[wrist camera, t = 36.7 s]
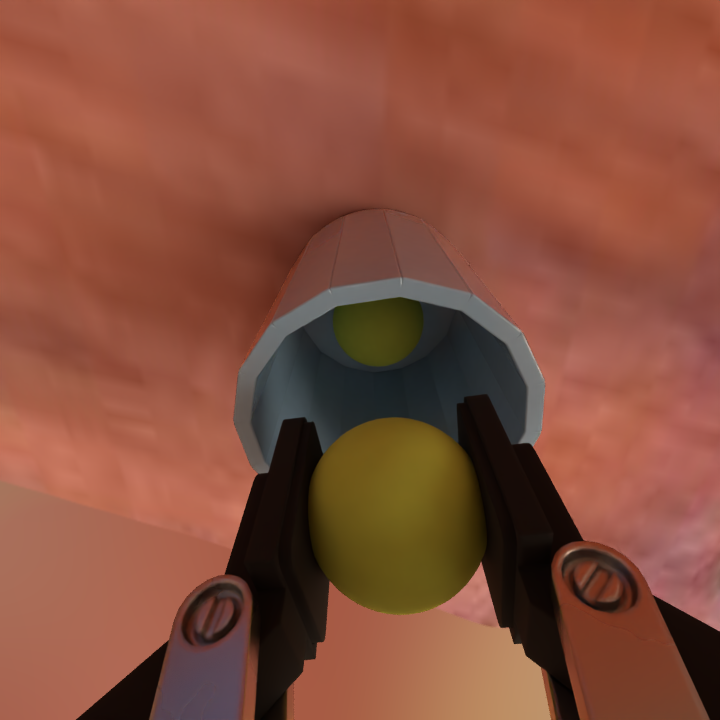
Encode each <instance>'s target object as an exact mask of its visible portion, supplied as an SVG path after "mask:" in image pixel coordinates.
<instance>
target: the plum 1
mask: <svg viewBox="0 0 720 720" xmlns="http://www.w3.org/2000/svg"><path fill="white" fill-rule="evenodd" d="M423 325H424V318H423V310H422V307H421V304H420V302H419V301H416V300H411V299H407V298H403V297H396V298H389V299H383V300H376V301H369V302H362V303H356V304H349V305H342V306H337V307H335V309H334V314H333V329H334V333H335V337H336V339H337V341H338V343H339V345H340V346H341V348H342V349H343V350H344V352H345V353H346V354H347V355H348V356H350V357H351V358H352V359H354V360H356V361H357V362H359V363H362V364H365V365H368V366H376V367H380V366H388V365H391V364H394V363H397V362H399V361H401V360H402V359H404V358H405V357H407V356H408V355H409V354H410V353H411V352H412V351H413V349H414V348H415V347H416V345H417V344H418V342H419V340H420V337H421V335H422V331H423Z"/></svg>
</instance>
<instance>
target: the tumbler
mask: <svg viewBox="0 0 720 720" xmlns="http://www.w3.org/2000/svg"><path fill="white" fill-rule="evenodd" d="M396 297H403V298H407V299H411V300H416V301H419V302H420V304H421V307H422V310H423V318H424V325H423V331H422V335H421V337H420V340H419V342H418V344H417V345H416V347H415V348H414V349H413V351H412V352H411V353H410V354H409V355H408V356H407V357H405V358H404V359H402V360H401V361H399V362H397V363H394V364H391V365H388V366H380V367H376V366H368V365H365V364H362V363H359V362H357V361H356V360H354V359H352V358H351V357H350V356H348V355H347V354H346V353H345V352H344V350H343V349H342V348H341V346H340V345H339V343H338V341H337V339H336V337H335V333H334V329H333V314H334V309H335V307H337V306H342V305H349V304H356V303H362V302H369V301H376V300H383V299H389V298H396ZM482 394H487V395H488V396H489V398H490V400H491V402H492V404H493V406H494V409H495V411H496V413H497V415H498V417H499V419H500V421H501V423H502V425H503V428H504V430H505V432H506V434H507V436H508V438H509V440H510V442H511V444H521V443H530V444H531V445H532V447H533V446H534V444H535V442H536V441H537V439H538V437H539V436H540V434H541V431H542V419H543V407H544V394H545V379H544V377H543V375H542V372H541V370H540V368H539V366H538V364H537V362H536V359H535V357H534V355H533V353H532V351H531V349H530V346H529V344H528V342H527V340H526V338H525V335H524V333H523V332H522V331H521V330H520V328H519V327H518V326H517V325H516V323H515V322H514V321H513V320H512V318H511V317H510V316H509V315H508V313H507V312H506V311H505V310H504V308H503V307H502V306H501V305H500V303H499V302H498V301H497V300H496V298H495V297H494V296H493V295H492V293H491V292H490V291H489V290H488V288H487V287H486V286H485V285H484V283H483V282H482V281H481V280H480V278H479V277H478V276H477V275H476V273H475V272H474V271H473V270H472V268H471V267H470V266H469V265H468V263H467V262H466V261H465V260H464V258H463V257H462V256H461V255H460V253H459V252H458V251H457V250H456V248H455V247H454V246H453V245H452V243H451V242H450V241H449V240H448V239H446V238H445V237H444V236H443V235H441V234H440V233H439V232H438V231H437V230H436V229H435V228H434V227H432V226H431V225H429V224H428V223H427V222H425V221H424V220H422V219H420V218H417V217H415V216H413V215H410V214H407V213H404V212H401V211H396V210H390V209H369V210H362V211H357V212H353V213H350V214H347V215H345V216H342V217H340V218H338V219H336V220H334V221H333V222H331V223H329V224H328V225H326V226H325V227H324V228H322V229H321V230H320V231H319V232H318V233H317V234H315V235H314V236H313V237H311V239H310V240H309V242H308V243H307V245H306V246H305V248H304V249H303V251H302V252H301V254H300V256H299V257H298V259H297V260H296V262H295V263H294V265H293V267H292V268H291V270H290V272H289V274H288V276H287V278H286V280H285V282H284V284H283V286H282V288H281V290H280V292H279V294H278V295H277V297H276V299H275V301H274V303H273V305H272V307H271V309H270V311H269V313H268V315H267V317H266V319H265V320H264V322H263V324H262V326H261V328H260V330H259V332H258V334H257V336H256V338H255V340H254V342H253V344H252V346H251V347H250V349H249V351H248V353H247V355H246V357H245V359H244V361H243V363H242V365H241V367H240V369H239V372H238V378H237V388H236V398H235V407H234V417H233V421H234V425H235V428H236V430H237V433H238V435H239V438H240V440H241V443H242V445H243V448H244V450H245V453H246V455H247V458H248V460H249V463H250V465H251V466H252V468H253V469H254V470H255V471H256V472H257V473H258V474H261V473H268V472H269V468H270V465H271V461H272V457H273V454H274V450H275V446H276V443H277V439H278V435H279V432H280V428H281V425H282V422H283V420H284V419H292V418H299V417H305V418H306V419H307V422H312V421H313V422H314V423H315V426H316V430H317V434H318V437H319V441H320V445H321V448H322V452H323V454H324V453H325V452H326V451H327V449H328V448H329V447H330V446H331V445H332V444H333V443H334V442H335V441H336V440H337V439H338V438H339V437H340V436H342V435H343V434H345V433H346V432H347V431H349V430H351V429H353V428H354V427H356V426H358V425H361V424H363V423H365V422H368V421H372V420H375V419H381V418H391V417H398V418H408V419H413V420H417V421H421V422H424V423H426V424H429V425H432V426H434V427H436V428H437V429H439V430H441V431H443V432H444V433H446V434H447V435H448V436H450V437H451V438H453V439H454V440H455V441H456V442H457V443H458V426H457V403H464V397H466V396H474V395H482Z"/></svg>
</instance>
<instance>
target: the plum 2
mask: <svg viewBox="0 0 720 720" xmlns="http://www.w3.org/2000/svg"><path fill="white" fill-rule="evenodd" d="M308 520H309V531H310V539H311V544H312V549H313V553H314V556H315V558H316V561H317V563H318V565H319V566H320V568H321V569H322V571H323V572H324V574H325V575H326V577H327V578H328V579H329V580H330V581H331V582H332V583H333V585H334V586H335V587H336V588H337V589H338V590H339V591H340V592H342V593H343V594H344V595H345V596H347V597H348V598H350V599H351V600H353V601H354V602H356V603H357V604H359V605H361V606H363V607H366V608H369V609H371V610H374V611H377V612H381V613H386V614H395V615H396V614H397V615H406V614H414V613H420V612H424V611H427V610H430V609H433V608H435V607H437V606H439V605H441V604H443V603H445V602H446V601H448V600H450V599H451V598H452V597H454V596H455V595H456V594H457V593H458V592H459V591H460V590H461V589H462V588H463V587H464V586H465V585H466V584H467V583H468V582H469V580H470V579H471V578H472V576H473V575H474V573H475V572H476V571H477V569H478V567H479V565H480V563H481V560H482V558H483V556H484V553H485V550H486V546H487V529H486V520H485V513H484V507H483V501H482V496H481V491H480V487H479V483H478V479H477V475H476V472H475V468H474V466H473V463H472V460H471V458H470V457H469V455H468V454H467V453H466V451H465V450H464V449H463V448H462V447H461V446H460V445H459V444H458V443H457V442H456V441H455V440H454V439H453V438H451V437H450V436H448V435H447V434H446V433H444V432H443V431H441V430H439V429H437V428H436V427H434V426H432V425H429V424H426V423H424V422H421V421H417V420H413V419H408V418H398V417H391V418H381V419H375V420H372V421H368V422H365V423H363V424H361V425H358V426H356V427H354V428H353V429H351V430H349V431H347V432H346V433H345V434H343V435H342V436H340V437H339V438H338V439H337V440H336V441H335V442H334V443H333V444H332V445H331V446H330V447H329V448H328V449H327V451H326V452H325V453H324V454H323V456H322V457H321V459H320V460H319V462H318V464H317V466H316V468H315V470H314V472H313V474H312V477H311V481H310V485H309V495H308Z"/></svg>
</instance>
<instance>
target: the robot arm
mask: <svg viewBox="0 0 720 720" xmlns="http://www.w3.org/2000/svg"><path fill="white" fill-rule="evenodd" d="M457 426H458V444H459V445H460V446H461V447H462V448H463V449H464V450H465V451H466V453H467V454H468V455H469V457H470V458H471V460H472V463H473V466H474V468H475V472H476V475H477V479H478V483H479V487H480V491H481V496H482V501H483V507H484V513H485V520H486V529H487V546H486V550H485V553H484V556H483V558H482V560H481V562H482V565H483V569H484V573H485V576H486V580H487V584H488V587H489V591H490V594H491V598H492V602H493V605H494V609H495V613H496V616H497V620H498V623H499V626H500V627H501V628H505V627H509V629H510V632H511V636H512V639H513V642H514V644H522V645H523V648H524V651H525V654H526V656H527V657H528V658H530V659H531V660H532V661H534V662H535V663H536V664H538V665H539V666H540V667H541V670H542V675H543V680H544V685H545V690H546V696H547V700H548V706H549V711H550V716H551V720H720V631H718V630H716V629H714V628H712V627H710V626H709V625H707V624H705V623H703V622H701V621H699V620H698V619H696V618H694V617H692V616H690V615H688V614H687V613H685V612H683V611H681V610H679V609H677V608H676V607H674V606H672V605H670V604H668V603H666V602H665V601H663V600H661V599H659V598H657V597H656V596H654V595H652V593H651V591H650V588H649V586H648V584H647V582H646V580H645V578H644V577H643V575H642V574H641V572H640V571H639V569H638V568H637V567H636V566H635V565H634V564H633V563H632V562H631V561H630V560H629V559H628V558H627V557H626V556H624V555H622V554H621V553H619V552H618V551H616V550H615V549H613V548H610V547H608V546H605V545H603V544H600V543H595V542H589V541H584V540H583V539H582V537H581V535H580V533H579V531H578V529H577V527H576V526H575V524H574V522H573V520H572V518H571V516H570V514H569V513H568V511H567V509H566V507H565V505H564V503H563V502H562V500H561V498H560V496H559V494H558V492H557V490H556V489H555V487H554V485H553V483H552V481H551V479H550V477H549V476H548V474H547V472H546V470H545V468H544V466H543V464H542V463H541V461H540V459H539V457H538V455H537V453H536V451H535V450H534V448H533V447H532V445H531V444H530V443H521V444H511V442H510V440H509V438H508V436H507V434H506V432H505V430H504V428H503V425H502V423H501V421H500V419H499V417H498V415H497V413H496V411H495V409H494V406H493V404H492V402H491V400H490V398H489V396H488V395H487V394H482V395H474V396H466V397H464V403H457ZM322 456H323V452H322V448H321V445H320V441H319V437H318V434H317V430H316V426H315V423H314V422H313V421H312V422H307V419H306V418H305V417H299V418H292V419H284V420H283V422H282V425H281V428H280V432H279V435H278V439H277V443H276V446H275V450H274V454H273V457H272V461H271V465H270V468H269V472H268V473H261V474H258V475H257V476H256V477H255V479H254V482H253V485H252V488H251V491H250V494H249V498H248V501H247V504H246V507H245V510H244V514H243V517H242V520H241V523H240V527H239V530H238V533H237V536H236V539H235V543H234V546H233V549H232V552H231V556H230V559H229V562H228V565H227V568H226V572H225V575H220V576H217V577H214V578H211V579H209V580H207V581H205V582H204V583H202V584H201V585H199V586H198V587H196V588H195V589H194V590H193V591H192V592H191V593H190V594H189V595H188V596H187V597H186V599H185V600H184V602H183V603H182V605H181V606H180V608H179V609H178V612H177V614H176V617H175V619H174V622H173V626H172V631H171V634H170V638H169V640H168V641H167V642H166V643H165V644H163V645H162V646H161V647H160V648H159V649H158V650H156V651H155V652H154V653H153V654H152V655H151V656H149V658H147V659H146V660H145V661H144V662H143V663H141V664H140V665H139V666H138V667H137V668H136V669H134V670H133V671H132V672H131V673H130V674H129V675H127V676H126V677H125V678H124V679H123V680H122V681H120V682H119V683H118V684H117V685H116V686H115V687H114V688H112V689H111V690H110V691H109V692H108V693H106V695H104V696H103V697H102V698H101V699H100V700H98V701H97V702H96V703H95V704H94V705H93V706H92V707H90V708H89V709H88V710H87V711H86V712H85V713H83V714H82V715H81V716H80V717H79V718H77V719H76V720H294V683H293V682H294V681H295V680H296V679H297V678H298V677H299V676H300V674H301V673H302V672H303V666H304V660H311V659H315V658H316V647H317V642H323V641H324V640H325V634H326V621H327V607H328V593H329V579H328V578H327V577H326V575H325V574H324V572H323V571H322V569H321V568H320V566H319V565H318V563H317V561H316V558H315V556H314V553H313V549H312V544H311V539H310V531H309V520H308V495H309V485H310V481H311V477H312V474H313V472H314V470H315V468H316V466H317V464H318V462H319V460H320V459H321V457H322Z"/></svg>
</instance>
